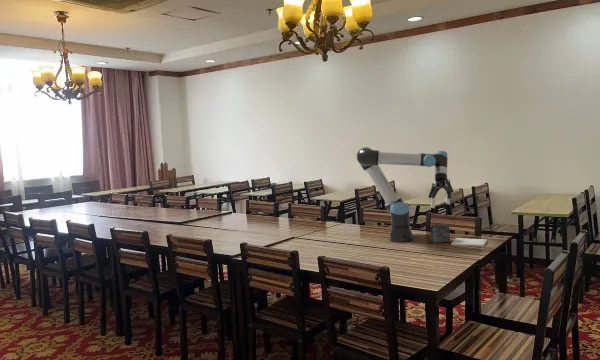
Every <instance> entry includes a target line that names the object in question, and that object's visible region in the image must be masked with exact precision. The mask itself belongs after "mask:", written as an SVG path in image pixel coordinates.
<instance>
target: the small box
mask: <svg viewBox="0 0 600 360" xmlns="http://www.w3.org/2000/svg"><path fill="white" fill-rule="evenodd" d="M429 227H430V229H429V230H430V242H431V244H443V243H444V244H446V243H451V239H450V238H451V237H450V235H451V234H450V225H449V224H447V223H443V224H430V225H429Z"/></svg>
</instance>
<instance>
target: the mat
mask: <svg viewBox="0 0 600 360" xmlns="http://www.w3.org/2000/svg"><path fill="white" fill-rule="evenodd" d="M487 242H488V239H484V238H461V237H459V238H458V237H456V238H455V239H454V240H453V241H451V242H450V243H451V244H450V245H451V246H460V247H463V246H464V247H481V248H482V247H485V245H486V244H487Z"/></svg>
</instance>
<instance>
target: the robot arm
mask: <svg viewBox="0 0 600 360" xmlns="http://www.w3.org/2000/svg"><path fill="white" fill-rule="evenodd" d="M448 160H449V157H448V153H447V151H444V150H438V151H436V152H435V153H423V152H422V153H421V152H418V153H407V152H406V153H402V152H387V151H386V152H384V151H380V150H377V149H376V150H375V149H372V148H370V147H365V146H364V147H362V148H360V149H359V150H358V151H357V152H356V161H357V162H358V164H359V165H360V167H361V168H362V169H363V171H364V172H367V174H368V175H369V177H370V179H371V181H372V182H373V184H374V186H375V187H376V189H377V190H378V192H379V194H380V195H381V197H382V199H383V200H384V206H385V208H386V209H387V212H388V213H389V215H390V222H391V223H390V224H391V229H390V233H389V241H390V242H394V243H406V242H412V241H413V240H414V238H415V237H414V234H413V232H412V228H411V224H410V223H411V221H410V206H409V204H408V203H407V202H404V200H403V199H402V197H401V196H399V195H397V193H396V192H395V191H394V189H393V186H391V184H390V181H388V180H389V179H387V177H386V175H385V174H384V171H383V170H382V169H381V166H380V165H392V166H395V165H396V166H415V167H416V166H417V167H426V168H431V167H434V166H435V167H434V168H435V169H434V181H435V183H432V184H431V188H430V191H429V194H428V198H429V199H430V208H432V209H436V196H437V194H438V192H439V191H440V190H441V189H443V190H445V192H446V193H445V204H446V205H451V199H452V195H451V194H452V193H454V189H453V187H452V184H451V180H450V179H448Z"/></svg>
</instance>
